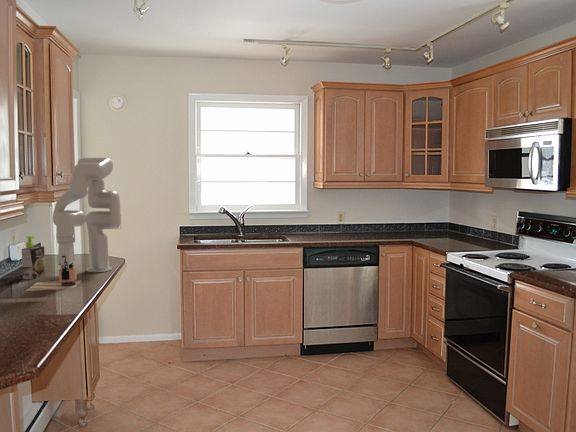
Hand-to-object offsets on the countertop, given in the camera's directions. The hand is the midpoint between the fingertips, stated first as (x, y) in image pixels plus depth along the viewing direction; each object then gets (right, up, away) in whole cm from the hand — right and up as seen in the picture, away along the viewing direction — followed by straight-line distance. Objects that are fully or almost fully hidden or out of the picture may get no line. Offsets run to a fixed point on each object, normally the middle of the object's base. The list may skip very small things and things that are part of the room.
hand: (68, 277), depth 242 cm
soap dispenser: (-30, -2, +28) cm, 42 cm away
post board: (-6, -5, 0) cm, 8 cm away
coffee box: (-24, -3, +17) cm, 30 cm away
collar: (0, -1, 0) cm, 1 cm away
